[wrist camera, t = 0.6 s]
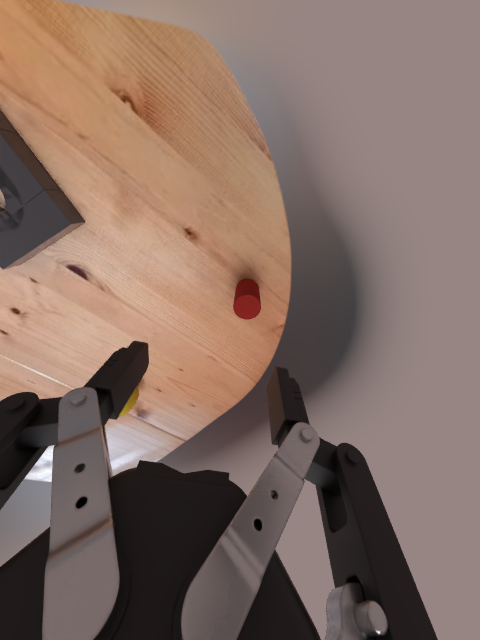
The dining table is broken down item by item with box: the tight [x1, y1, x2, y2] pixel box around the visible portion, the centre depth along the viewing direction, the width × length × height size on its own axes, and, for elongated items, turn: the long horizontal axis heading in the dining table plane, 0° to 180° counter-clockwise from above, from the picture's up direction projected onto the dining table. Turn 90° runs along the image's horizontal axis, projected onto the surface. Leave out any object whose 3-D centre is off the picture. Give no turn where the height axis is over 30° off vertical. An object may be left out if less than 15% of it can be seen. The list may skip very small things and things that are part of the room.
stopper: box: [233, 279, 261, 319], centre depth 29 cm, size 4×4×6 cm
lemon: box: [119, 387, 139, 416], centre depth 40 cm, size 6×6×8 cm
